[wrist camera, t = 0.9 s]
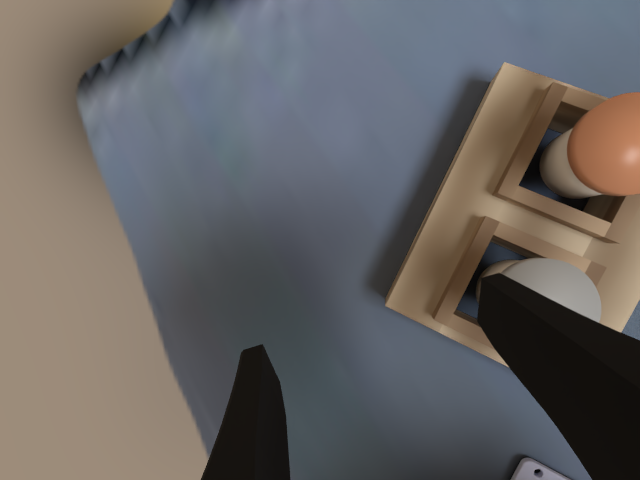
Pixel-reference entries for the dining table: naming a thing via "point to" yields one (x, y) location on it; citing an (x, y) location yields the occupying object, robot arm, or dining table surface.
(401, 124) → the dining table surface
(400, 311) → the socket board
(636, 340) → the robot arm
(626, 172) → the rust plug
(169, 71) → the dining table surface
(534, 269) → the grey plug
